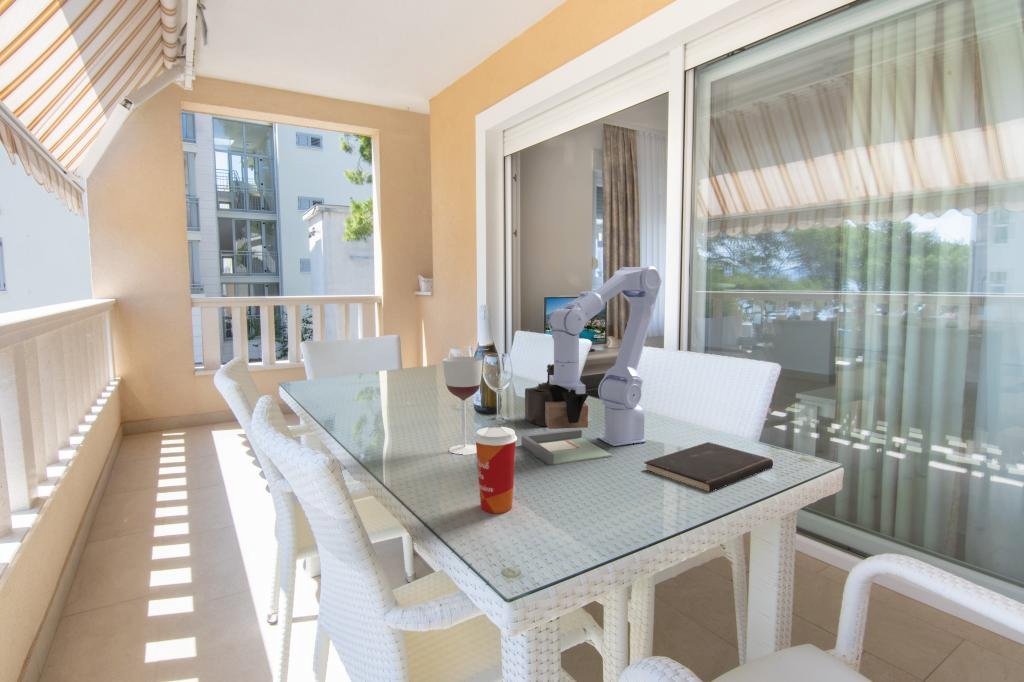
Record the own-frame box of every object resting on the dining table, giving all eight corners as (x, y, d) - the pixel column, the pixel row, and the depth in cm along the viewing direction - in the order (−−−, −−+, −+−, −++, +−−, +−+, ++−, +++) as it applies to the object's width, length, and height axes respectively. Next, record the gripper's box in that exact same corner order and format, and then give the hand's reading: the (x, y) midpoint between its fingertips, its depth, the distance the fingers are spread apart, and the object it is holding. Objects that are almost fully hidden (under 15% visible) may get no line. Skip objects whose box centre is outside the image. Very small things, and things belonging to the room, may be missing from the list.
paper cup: (474, 499, 103) (473, 426, 101) (515, 498, 104) (515, 425, 102) (475, 517, 95) (474, 438, 94) (520, 515, 96) (519, 437, 94)
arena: (579, 437, 142) (579, 428, 142) (611, 456, 127) (612, 446, 127) (521, 445, 136) (521, 435, 136) (548, 465, 122) (548, 454, 121)
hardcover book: (644, 472, 118) (644, 461, 118) (707, 451, 132) (708, 441, 132) (710, 495, 106) (710, 483, 105) (773, 469, 119) (773, 459, 119)
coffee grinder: (521, 420, 161) (521, 358, 159) (553, 415, 166) (552, 355, 164) (553, 432, 148) (552, 365, 146) (585, 426, 153) (585, 362, 151)
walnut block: (548, 428, 125) (548, 407, 125) (545, 422, 131) (545, 402, 130) (588, 427, 126) (588, 405, 126) (582, 421, 132) (582, 400, 131)
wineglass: (469, 457, 127) (468, 363, 125) (437, 451, 132) (435, 360, 130) (491, 447, 135) (489, 358, 132) (459, 442, 140) (457, 355, 137)
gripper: (537, 357, 132) (537, 413, 134) (565, 366, 119) (565, 428, 120) (564, 356, 135) (564, 410, 136) (593, 364, 121) (593, 425, 123)
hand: (566, 418), depth 128 cm, fingers closed on walnut block, 6 cm apart
